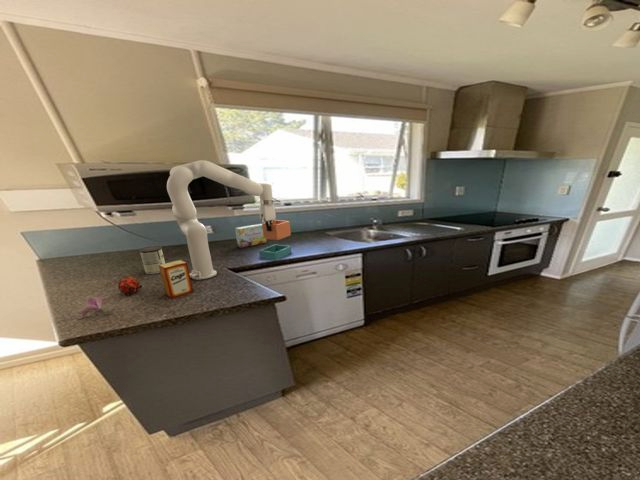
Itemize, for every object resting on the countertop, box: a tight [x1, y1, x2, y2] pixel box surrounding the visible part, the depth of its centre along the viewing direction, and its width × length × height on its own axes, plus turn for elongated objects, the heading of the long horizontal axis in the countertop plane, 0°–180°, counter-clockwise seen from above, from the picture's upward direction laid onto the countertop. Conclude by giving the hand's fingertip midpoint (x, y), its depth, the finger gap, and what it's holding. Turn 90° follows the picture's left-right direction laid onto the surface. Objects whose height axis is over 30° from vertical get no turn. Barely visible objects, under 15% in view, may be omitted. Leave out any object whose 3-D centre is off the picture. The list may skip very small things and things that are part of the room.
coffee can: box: [138, 245, 166, 275], centre depth 168 cm, size 10×10×14 cm
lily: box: [78, 292, 110, 320], centre depth 121 cm, size 12×12×10 cm
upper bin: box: [261, 219, 292, 241], centre depth 192 cm, size 14×11×10 cm
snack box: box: [234, 223, 267, 249], centre depth 222 cm, size 21×6×15 cm, turn 143°
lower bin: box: [258, 243, 292, 261], centre depth 198 cm, size 16×13×6 cm
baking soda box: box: [159, 259, 194, 299], centre depth 140 cm, size 10×6×16 cm
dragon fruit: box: [117, 276, 143, 296], centre depth 142 cm, size 8×8×12 cm
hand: (269, 230), depth 186 cm, fingers closed on upper bin, 1 cm apart
